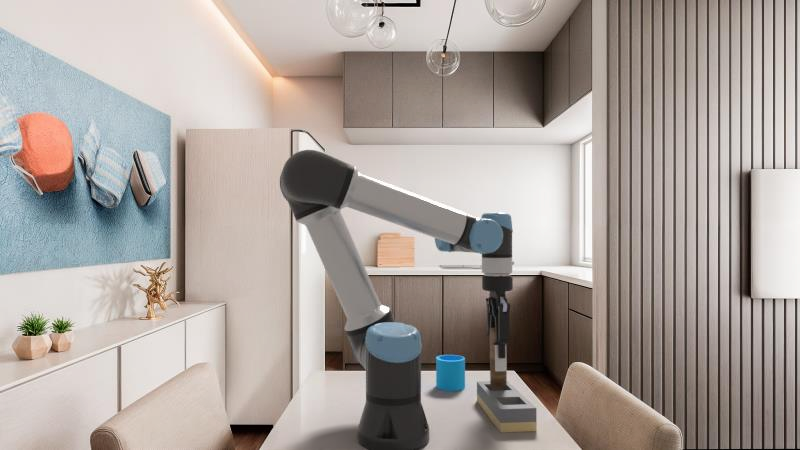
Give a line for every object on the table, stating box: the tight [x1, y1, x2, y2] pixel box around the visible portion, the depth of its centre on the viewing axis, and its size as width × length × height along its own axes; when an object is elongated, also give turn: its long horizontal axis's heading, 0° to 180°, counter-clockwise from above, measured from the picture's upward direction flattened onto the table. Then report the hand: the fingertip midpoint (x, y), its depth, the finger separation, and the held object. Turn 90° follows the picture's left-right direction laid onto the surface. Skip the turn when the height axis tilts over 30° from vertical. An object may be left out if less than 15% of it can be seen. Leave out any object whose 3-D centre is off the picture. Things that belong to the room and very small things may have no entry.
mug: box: [435, 354, 466, 392], centre depth 152 cm, size 12×8×8 cm
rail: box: [476, 380, 538, 433], centre depth 126 cm, size 22×8×5 cm, turn 5°
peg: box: [489, 327, 508, 387], centre depth 132 cm, size 4×4×14 cm
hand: (498, 368), depth 132 cm, fingers closed on peg, 4 cm apart
